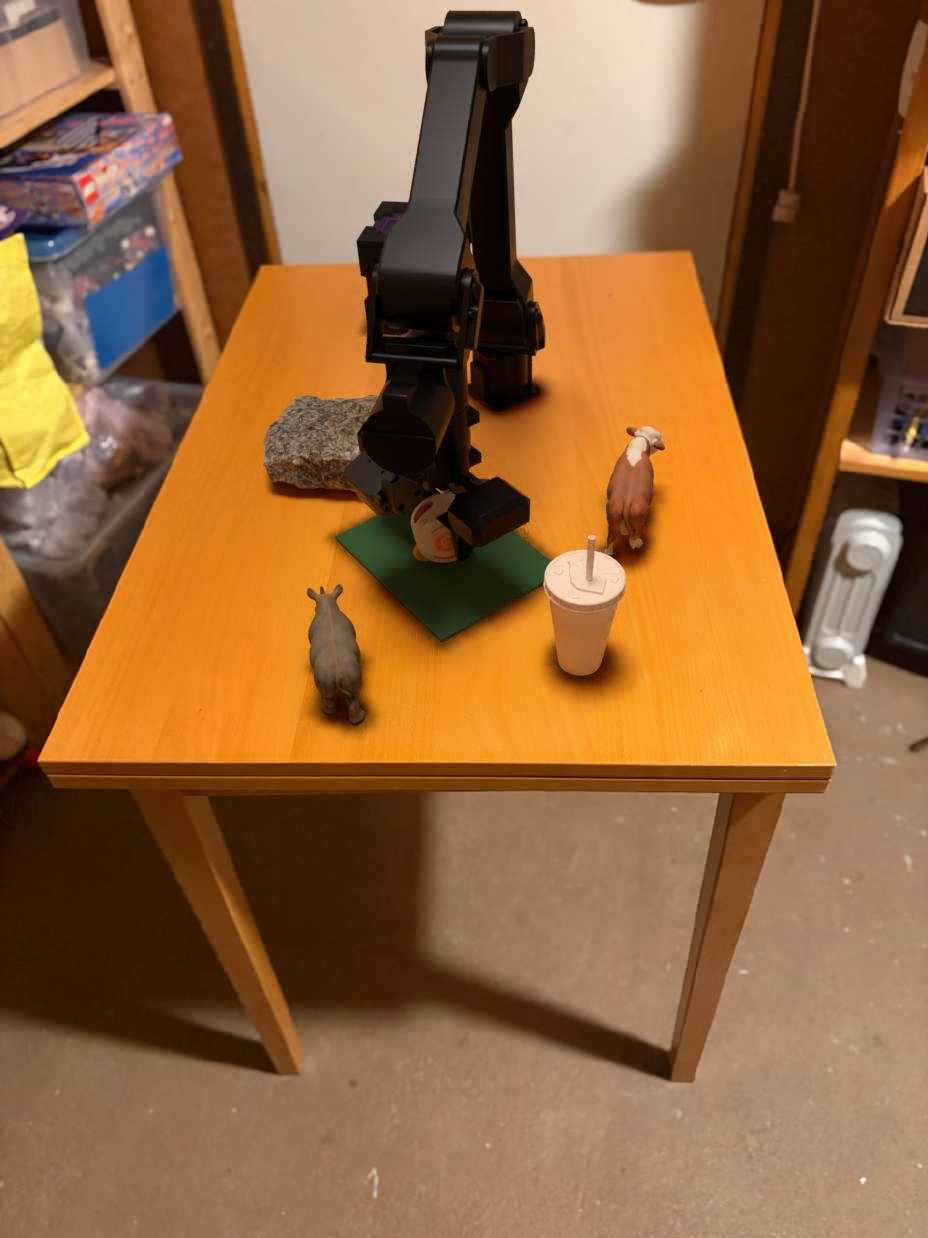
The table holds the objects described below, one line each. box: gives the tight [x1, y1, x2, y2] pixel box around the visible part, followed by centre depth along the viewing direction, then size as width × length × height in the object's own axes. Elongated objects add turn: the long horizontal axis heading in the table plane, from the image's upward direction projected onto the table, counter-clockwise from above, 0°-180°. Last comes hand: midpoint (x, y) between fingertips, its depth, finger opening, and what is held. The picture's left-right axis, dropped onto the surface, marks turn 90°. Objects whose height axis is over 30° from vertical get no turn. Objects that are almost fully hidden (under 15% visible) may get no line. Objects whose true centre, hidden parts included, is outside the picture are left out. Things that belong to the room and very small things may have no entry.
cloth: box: [334, 491, 552, 643], centre depth 89 cm, size 14×18×1 cm
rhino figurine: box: [306, 583, 366, 724], centre depth 77 cm, size 4×14×6 cm, turn 12°
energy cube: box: [355, 200, 472, 335], centre depth 119 cm, size 12×12×12 cm
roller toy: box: [411, 493, 457, 563], centre depth 86 cm, size 4×6×6 cm
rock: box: [262, 394, 379, 493], centre depth 98 cm, size 13×6×15 cm
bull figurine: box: [603, 425, 666, 557], centre depth 88 cm, size 4×13×8 cm, turn 161°
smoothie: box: [542, 534, 627, 677], centre depth 74 cm, size 6×6×14 cm
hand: (445, 543), depth 88 cm, fingers closed on roller toy, 5 cm apart
